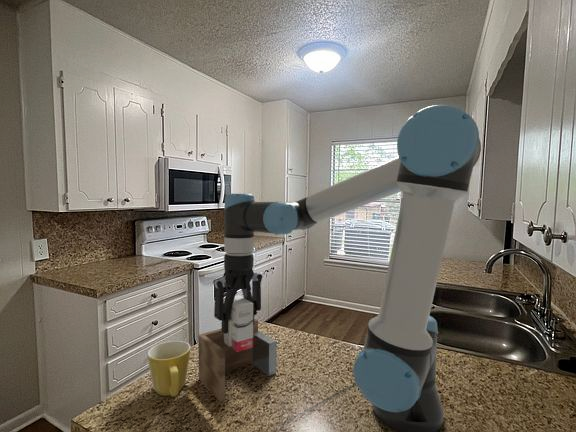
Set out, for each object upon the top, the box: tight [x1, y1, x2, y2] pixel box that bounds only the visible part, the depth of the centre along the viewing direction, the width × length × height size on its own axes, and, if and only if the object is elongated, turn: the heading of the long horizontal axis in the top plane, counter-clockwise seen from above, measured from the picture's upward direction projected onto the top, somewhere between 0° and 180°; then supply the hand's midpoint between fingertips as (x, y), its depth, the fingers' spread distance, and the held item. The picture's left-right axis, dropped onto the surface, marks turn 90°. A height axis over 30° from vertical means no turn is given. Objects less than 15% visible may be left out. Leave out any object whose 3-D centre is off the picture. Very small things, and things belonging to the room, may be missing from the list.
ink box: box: [224, 295, 253, 352], centre depth 83 cm, size 8×5×12 cm, turn 34°
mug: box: [147, 340, 192, 397], centre depth 79 cm, size 14×10×10 cm
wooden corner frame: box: [198, 318, 259, 403], centre depth 84 cm, size 12×18×13 cm, turn 130°
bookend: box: [251, 331, 278, 377], centre depth 89 cm, size 8×2×9 cm, turn 40°
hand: (238, 340), depth 83 cm, fingers closed on ink box, 5 cm apart
